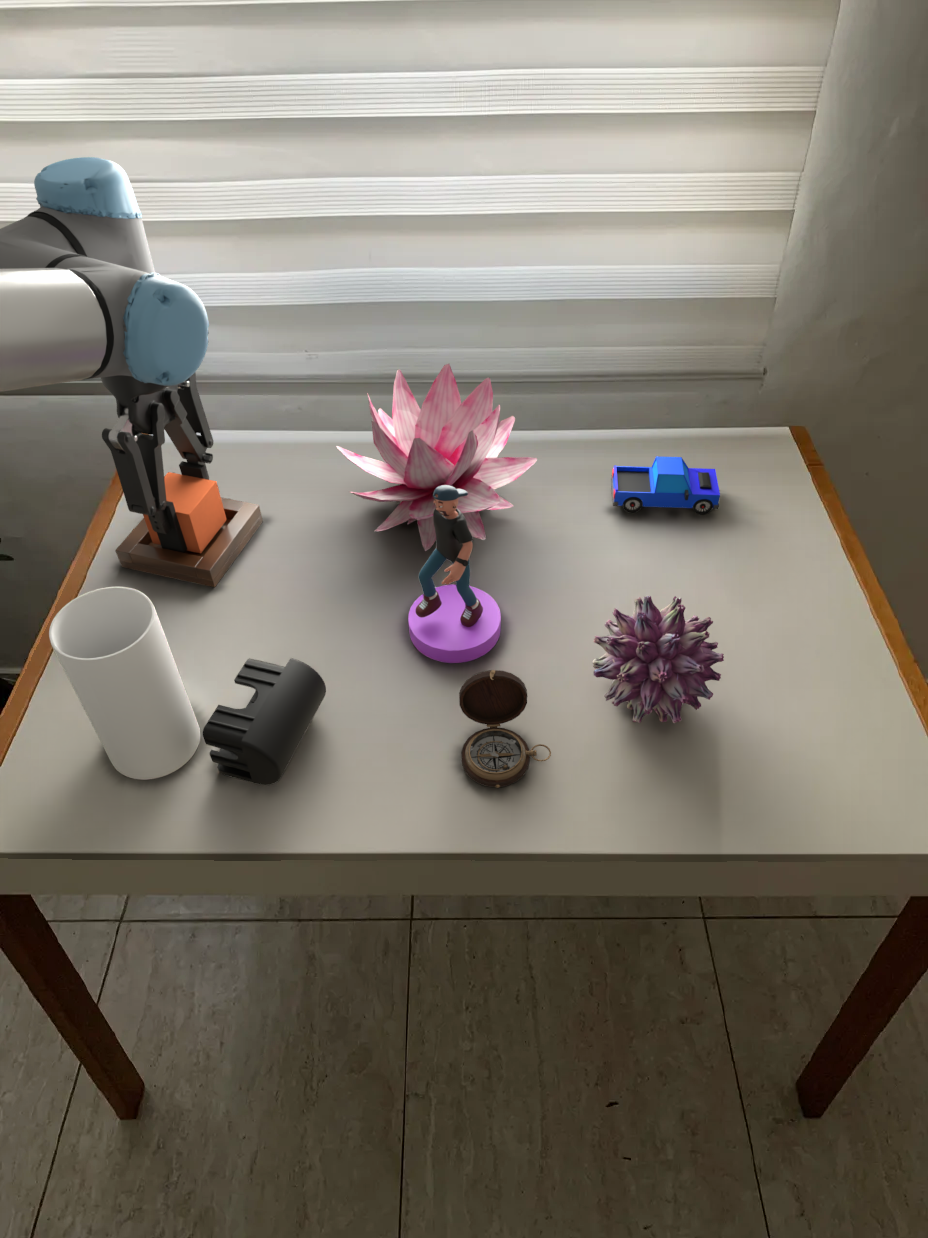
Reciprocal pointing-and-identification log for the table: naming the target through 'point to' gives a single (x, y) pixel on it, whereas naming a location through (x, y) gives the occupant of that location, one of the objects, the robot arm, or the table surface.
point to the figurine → (452, 593)
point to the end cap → (265, 721)
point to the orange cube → (193, 509)
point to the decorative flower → (440, 454)
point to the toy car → (665, 486)
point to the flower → (657, 659)
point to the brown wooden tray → (192, 565)
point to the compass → (495, 729)
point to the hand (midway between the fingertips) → (190, 529)
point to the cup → (126, 680)
